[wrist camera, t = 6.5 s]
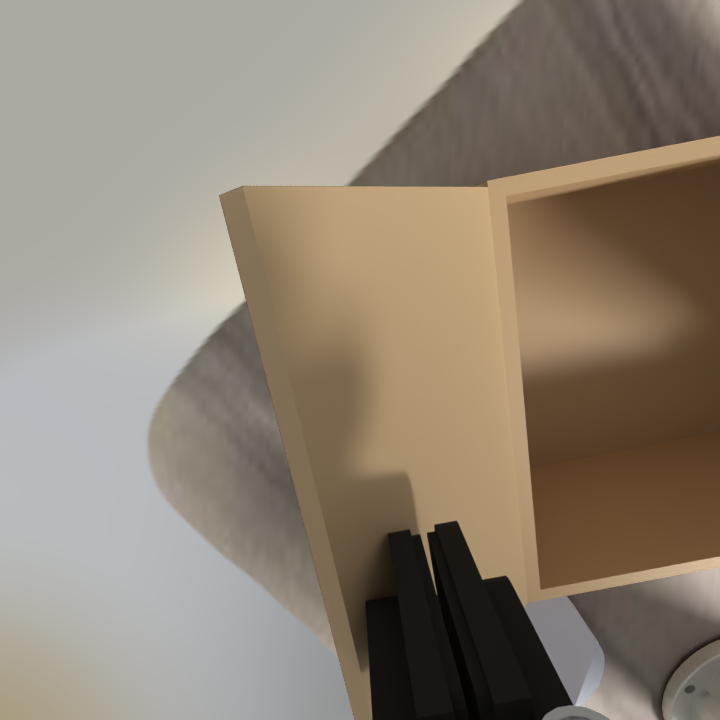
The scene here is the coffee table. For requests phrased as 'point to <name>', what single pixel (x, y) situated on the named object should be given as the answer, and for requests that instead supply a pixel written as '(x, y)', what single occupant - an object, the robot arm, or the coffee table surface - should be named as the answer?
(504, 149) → the coffee table surface
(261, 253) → the flap
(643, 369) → the carton
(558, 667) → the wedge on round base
